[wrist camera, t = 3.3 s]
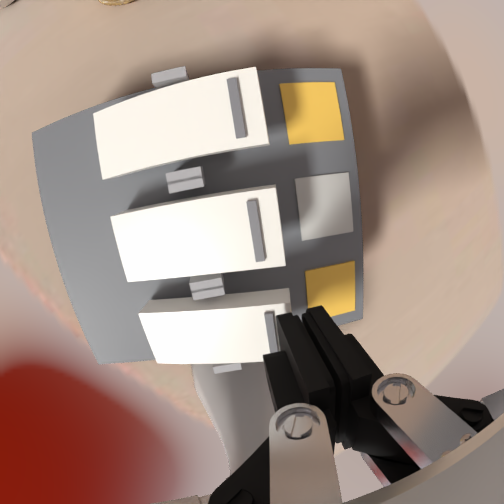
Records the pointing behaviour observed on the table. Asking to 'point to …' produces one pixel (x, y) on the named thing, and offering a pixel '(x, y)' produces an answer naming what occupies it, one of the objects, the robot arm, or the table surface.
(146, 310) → the switch
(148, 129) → the switch
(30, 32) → the table surface
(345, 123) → the console
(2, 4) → the plastic bottle
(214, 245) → the switch
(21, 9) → the table surface
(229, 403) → the flask
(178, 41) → the table surface
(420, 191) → the table surface
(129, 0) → the sprinkles bottle
